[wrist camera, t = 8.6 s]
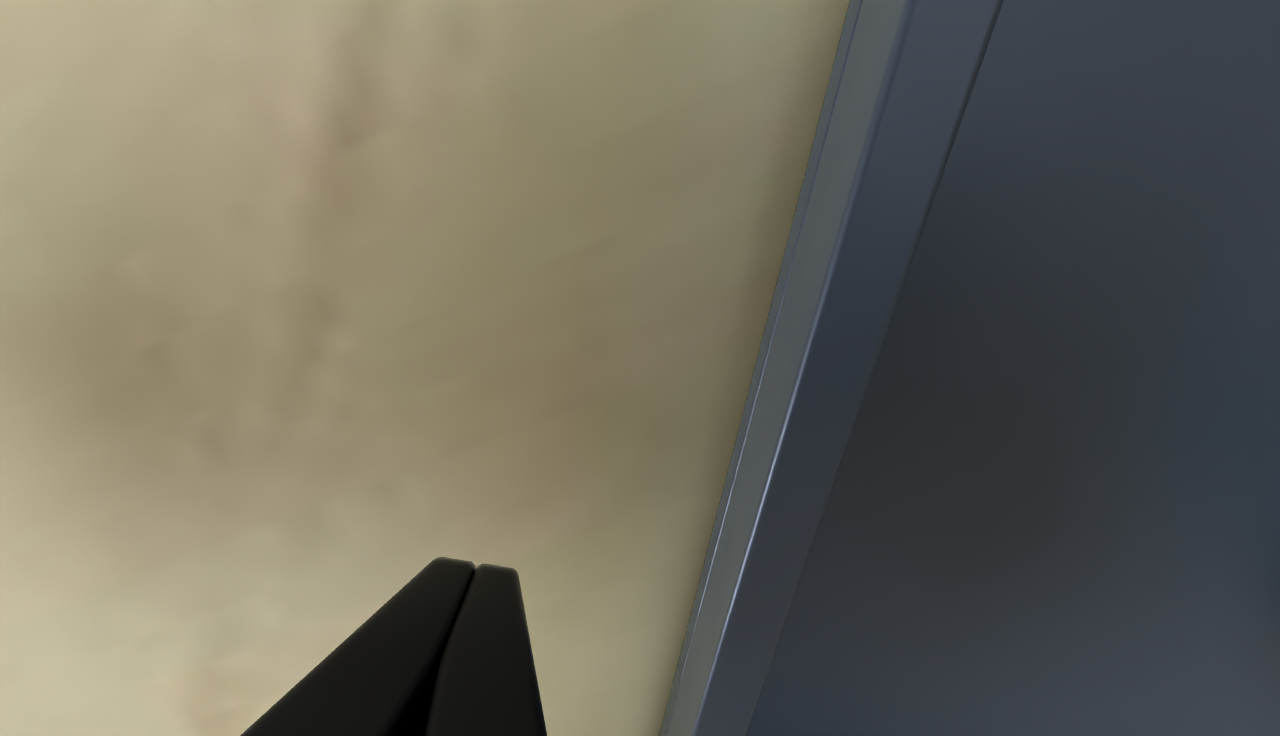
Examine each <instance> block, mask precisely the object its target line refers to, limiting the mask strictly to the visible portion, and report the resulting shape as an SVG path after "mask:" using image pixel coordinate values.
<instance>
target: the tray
mask: <svg viewBox="0 0 1280 736" xmlns="http://www.w3.org/2000/svg"><path fill="white" fill-rule="evenodd" d="M660 736H1280V0H850V3H849V7H848V11H847V15H846V18H845V22H844V26H843V30H842V34H841V38H840V42H839V45H838V49H837V53H836V57H835V61H834V65H833V69H832V72H831V76H830V80H829V84H828V88H827V92H826V96H825V99H824V103H823V107H822V111H821V115H820V119H819V123H818V126H817V130H816V134H815V138H814V142H813V146H812V150H811V153H810V157H809V161H808V165H807V169H806V173H805V177H804V180H803V184H802V188H801V192H800V196H799V200H798V204H797V207H796V211H795V215H794V219H793V223H792V227H791V231H790V234H789V238H788V242H787V246H786V250H785V254H784V258H783V261H782V265H781V269H780V273H779V277H778V281H777V285H776V288H775V292H774V296H773V300H772V304H771V308H770V312H769V315H768V319H767V323H766V327H765V331H764V335H763V339H762V342H761V346H760V350H759V354H758V358H757V362H756V366H755V369H754V373H753V377H752V381H751V385H750V389H749V393H748V396H747V400H746V404H745V408H744V412H743V416H742V420H741V423H740V427H739V431H738V435H737V439H736V443H735V446H734V450H733V454H732V458H731V462H730V466H729V470H728V473H727V477H726V481H725V485H724V489H723V493H722V497H721V500H720V504H719V508H718V512H717V516H716V520H715V524H714V527H713V531H712V535H711V539H710V543H709V547H708V551H707V554H706V558H705V562H704V566H703V570H702V574H701V578H700V581H699V585H698V589H697V593H696V597H695V601H694V605H693V608H692V612H691V616H690V620H689V624H688V628H687V632H686V635H685V639H684V643H683V647H682V651H681V655H680V659H679V662H678V666H677V670H676V674H675V678H674V682H673V686H672V689H671V693H670V697H669V701H668V705H667V709H666V713H665V716H664V720H663V724H662V728H661V732H660Z"/></svg>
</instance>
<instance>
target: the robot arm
mask: <svg viewBox="0 0 1280 736" xmlns="http://www.w3.org/2000/svg"><path fill="white" fill-rule="evenodd" d="M240 736H547V732H546V727H545V721H544V716H543V710H542V704H541V699H540V693H539V688H538V682H537V676H536V671H535V665H534V660H533V654H532V649H531V643H530V637H529V632H528V626H527V621H526V615H525V609H524V604H523V598H522V593H521V587H520V581H519V576H518V573H517V571H516V570H515V569H513V568H508V567H502V566H496V565H490V564H481V565H479V566H478V567H477V568H476V565H475V564H474V563H472V562H470V561H464V560H458V559H452V558H445V557H439V558H436V559H434V560H433V561H432V562H431V563H429V564H428V565H427V566H426V567H425V568H424V569H423V570H422V571H421V572H420V573H418V574H417V575H416V576H415V577H414V578H413V579H412V580H411V581H410V582H409V583H407V584H406V585H405V586H404V587H403V588H402V589H401V590H400V591H399V592H398V593H396V594H395V595H394V596H393V597H392V598H391V599H390V600H389V601H388V602H387V603H386V604H384V605H383V606H382V607H381V608H380V609H379V610H378V611H377V612H376V613H375V614H373V615H372V616H371V617H370V618H369V619H368V620H367V621H366V622H365V623H364V624H362V625H361V626H360V627H359V628H358V629H357V630H356V631H355V632H354V633H353V634H351V635H350V636H349V637H348V638H347V639H346V640H345V641H344V642H343V643H342V644H340V645H339V646H338V647H337V648H336V649H335V650H334V651H333V652H332V653H331V654H329V655H328V656H327V657H326V658H325V659H324V660H323V661H322V662H321V663H320V664H318V665H317V666H316V667H315V668H314V669H313V670H312V671H311V672H310V673H309V674H307V675H306V676H305V677H304V678H303V679H302V680H301V681H300V682H299V683H298V684H296V685H295V686H294V687H293V688H292V689H291V690H290V691H289V692H288V693H287V694H285V695H284V696H283V697H282V698H281V699H280V700H279V701H278V702H277V703H276V704H274V705H273V706H272V707H271V708H270V709H269V710H268V711H267V712H266V713H265V714H263V715H262V716H261V717H260V718H259V719H258V720H257V721H256V722H255V723H254V724H252V725H251V726H250V727H249V728H248V729H247V730H246V731H245V732H244V733H243V734H241V735H240Z"/></svg>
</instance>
